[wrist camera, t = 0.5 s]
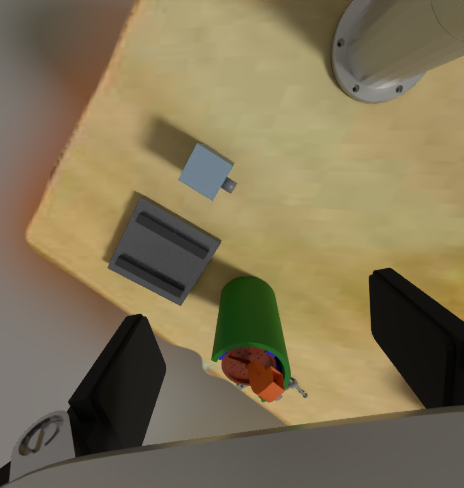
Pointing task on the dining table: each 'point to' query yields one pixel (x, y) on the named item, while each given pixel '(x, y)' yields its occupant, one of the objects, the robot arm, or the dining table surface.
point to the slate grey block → (207, 172)
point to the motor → (251, 338)
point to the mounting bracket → (163, 251)
